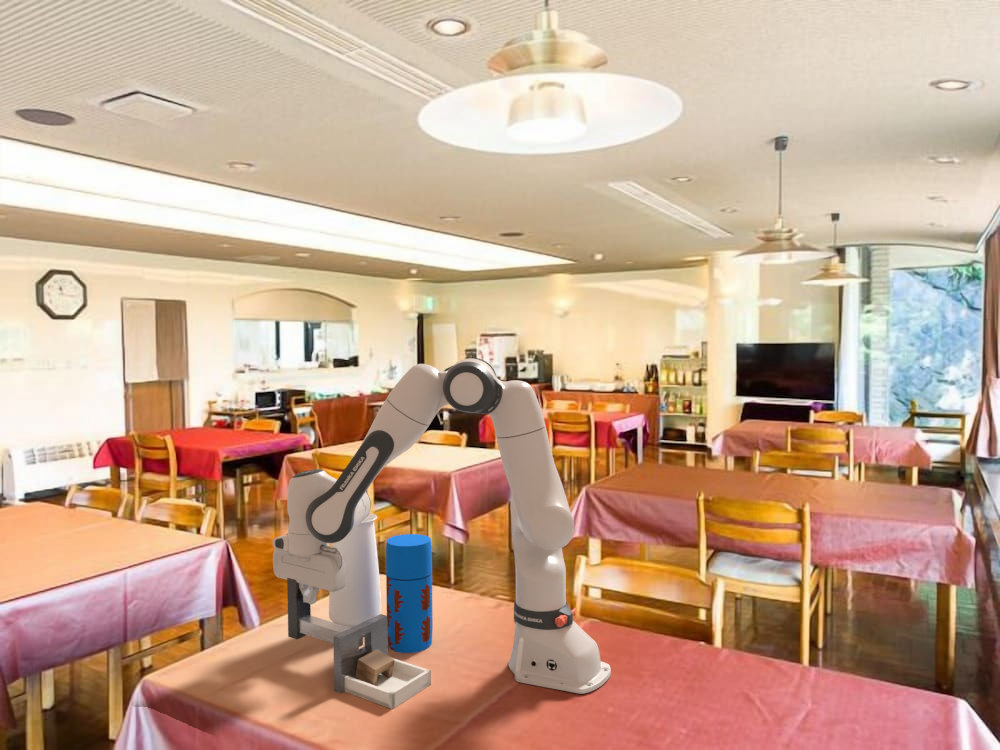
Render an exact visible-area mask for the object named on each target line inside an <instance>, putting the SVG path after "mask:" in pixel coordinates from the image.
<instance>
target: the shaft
mask: <svg viewBox="0 0 1000 750" xmlns="http://www.w3.org/2000/svg"><path fill="white" fill-rule="evenodd" d="M286 581H287V583H286V584H287V585H286V586H287V591H286V592H287V634H288V635H287V636H288V637H289V638H291V639H294V640H297V641H298V640H300V639H302V638H304V637H306V636H308V637H312V638H314V639H318V640H321V641H323V642H328V643H330V644H332V645H334V642H333V636H335V635H337V634H339V633H341V632H343V631H345V630H348V629H350V627H347V626H344V625H340V624H337V623H334V622H333V621H331V620H327V619H323V618H320V617H318V616H317V617H316V616H313V615H312V613H311V604H307V603H304V602H303V595H302V593H301V590H300V588H299V583H297V582H296V580H295V579H291V578H287V580H286ZM358 643H359V648H361V647H362V646H364V635H362V636H360V637H358Z"/></svg>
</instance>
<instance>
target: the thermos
mask: <svg viewBox="0 0 1000 750" xmlns="http://www.w3.org/2000/svg"><path fill="white" fill-rule="evenodd" d="M385 568H386V570H385V576H386V578H385V580H386V583H385V585H386V587H385V588H386V616H387V625H388V649H389V650H391V651H393V652H395V653H400V654H413V653H420V652H423V651H425V650H427V649H429V648H431V646H432V644H433V629H434V628H433V624H434V623H433V545H432V539H431V537H430V536H428V535H425V534H417V533H412V534H411V533H406V534H398V535H394V536H391V537H389V538H388V539H387V540H386V546H385Z"/></svg>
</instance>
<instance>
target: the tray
mask: <svg viewBox="0 0 1000 750" xmlns="http://www.w3.org/2000/svg"><path fill="white" fill-rule="evenodd" d="M392 658H393V657H392ZM393 659H395V660H394V667H393V673H392V677H390V678H387V677H385V676H384V675H382V674H381V673H380V674H379V675H378V677H377V683H376V686H375V685H372V684H369V683H367V682H364V681H361V680H360V679H359V680H358V679H355V678H353V677H350V676H346V677H345V692H344V693H348V694H350V695H352V696H353V695H354V696H356V697H359V698H360V699H364V700H366V701H369V702H371V703H375V704H378V705H380V706H382V707H384V708H388V709H390V710H393V709H394V708H395V709H396V707H398V706H400V705H401V704H403V703H404V702H405V701H408V700H409V699H411V698H412V697H414V696H415V695H417V694H418V693H420V692H421V691H423V690H424V689H426V688H428V687H429V686H431V685H432V670H430V669H428V668H424V667H421V666H419V665H415V664H413V663H409V662H406V661H402V660H400V659H396V658H393Z"/></svg>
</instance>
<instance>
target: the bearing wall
mask: <svg viewBox="0 0 1000 750" xmlns="http://www.w3.org/2000/svg"><path fill="white" fill-rule="evenodd" d="M362 635H363V638H364V645H363V647H362V646H361V647H359V643H358V637H360V636H362ZM333 642H334V644H333V689H334V690H333V691H334V692H336V693H339V694H343V693H346V692H345V677H346V676H350V677H353V678H355V679H358V678H357V677H355V676H356V670H357V663H358V659H360V658H362V657H364V656H365V655H367V654H369V653H371V652H373V651H375V650H377V649H378V650H380V651H381V652H383V653H385V654H386V655H388V656H389V653H388V652H389V647H388V625H387V614H386V615H384V614H382V613H381V614H380V615H378V616H375V617H373V618H371V619H369V620H367V621H365V622H363V623H360V624H358V625H356V626H354V627H352V628H350V629H348V630H345V631H343V632H341V633H339V634H337V635H335V636H333ZM358 680H359V679H358Z"/></svg>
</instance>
